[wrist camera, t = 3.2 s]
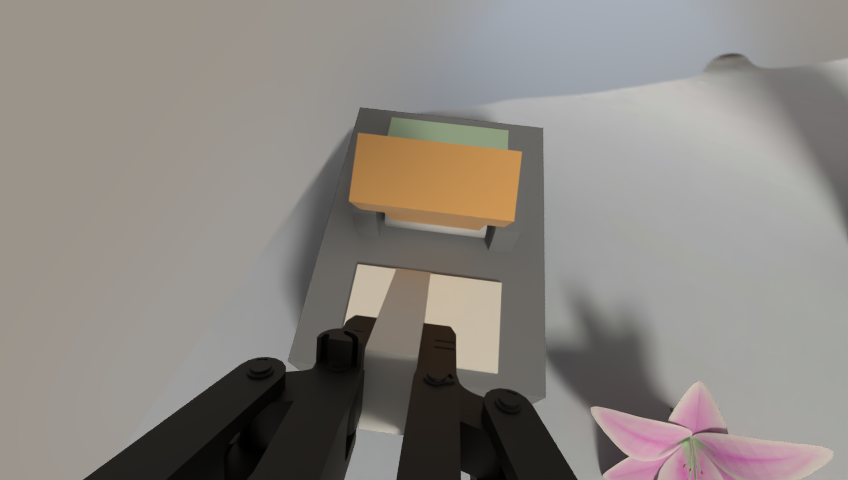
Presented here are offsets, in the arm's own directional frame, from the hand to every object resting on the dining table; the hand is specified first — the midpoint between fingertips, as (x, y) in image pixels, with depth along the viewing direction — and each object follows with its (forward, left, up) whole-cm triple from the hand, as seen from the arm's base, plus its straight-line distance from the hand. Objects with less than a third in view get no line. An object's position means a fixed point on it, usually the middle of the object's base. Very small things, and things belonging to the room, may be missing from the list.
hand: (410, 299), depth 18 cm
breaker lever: (-7, -7, -9) cm, 13 cm away
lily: (-11, +16, -17) cm, 26 cm away
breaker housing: (-7, -6, -17) cm, 19 cm away
